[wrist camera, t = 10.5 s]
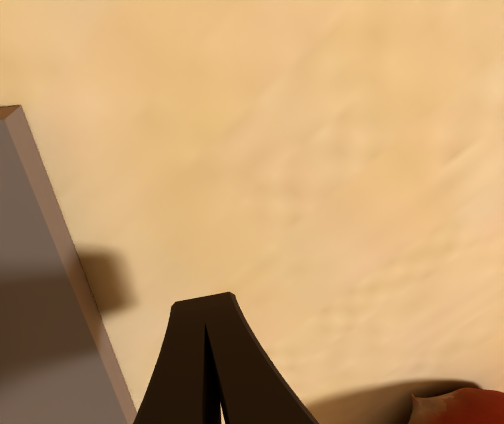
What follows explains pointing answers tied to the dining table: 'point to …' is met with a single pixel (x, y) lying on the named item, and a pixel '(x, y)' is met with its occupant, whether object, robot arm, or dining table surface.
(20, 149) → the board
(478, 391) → the fruit
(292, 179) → the dining table surface
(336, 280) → the dining table surface
